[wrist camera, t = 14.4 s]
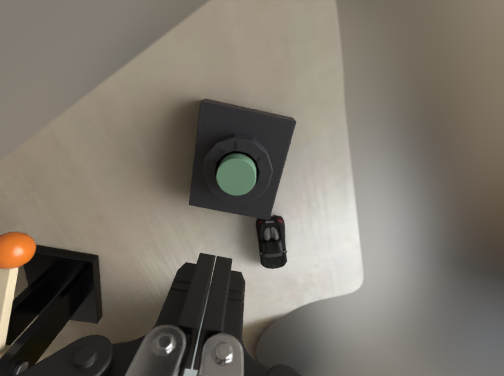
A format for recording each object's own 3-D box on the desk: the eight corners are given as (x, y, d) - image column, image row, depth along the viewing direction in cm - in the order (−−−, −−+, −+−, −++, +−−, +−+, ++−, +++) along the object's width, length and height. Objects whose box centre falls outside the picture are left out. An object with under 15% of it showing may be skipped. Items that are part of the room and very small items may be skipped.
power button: (221, 149, 23) (219, 154, 21) (259, 157, 23) (260, 163, 21) (216, 184, 24) (213, 191, 23) (252, 191, 24) (251, 199, 23)
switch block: (205, 98, 24) (196, 102, 21) (293, 117, 25) (299, 124, 21) (193, 195, 29) (184, 213, 25) (268, 210, 29) (269, 228, 26)
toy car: (286, 263, 33) (288, 274, 31) (261, 265, 33) (261, 276, 31) (283, 210, 29) (285, 220, 27) (254, 213, 30) (254, 223, 28)
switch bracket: (28, 243, 32) (-103, 338, 20) (98, 255, 33) (10, 354, 21) (41, 307, 37) (-58, 413, 25) (102, 316, 37) (32, 424, 26)
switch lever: (12, 225, 26) (-24, 233, 22) (47, 232, 26) (17, 240, 23) (-12, 363, 26) (-50, 392, 23) (23, 367, 27) (-10, 397, 23)
